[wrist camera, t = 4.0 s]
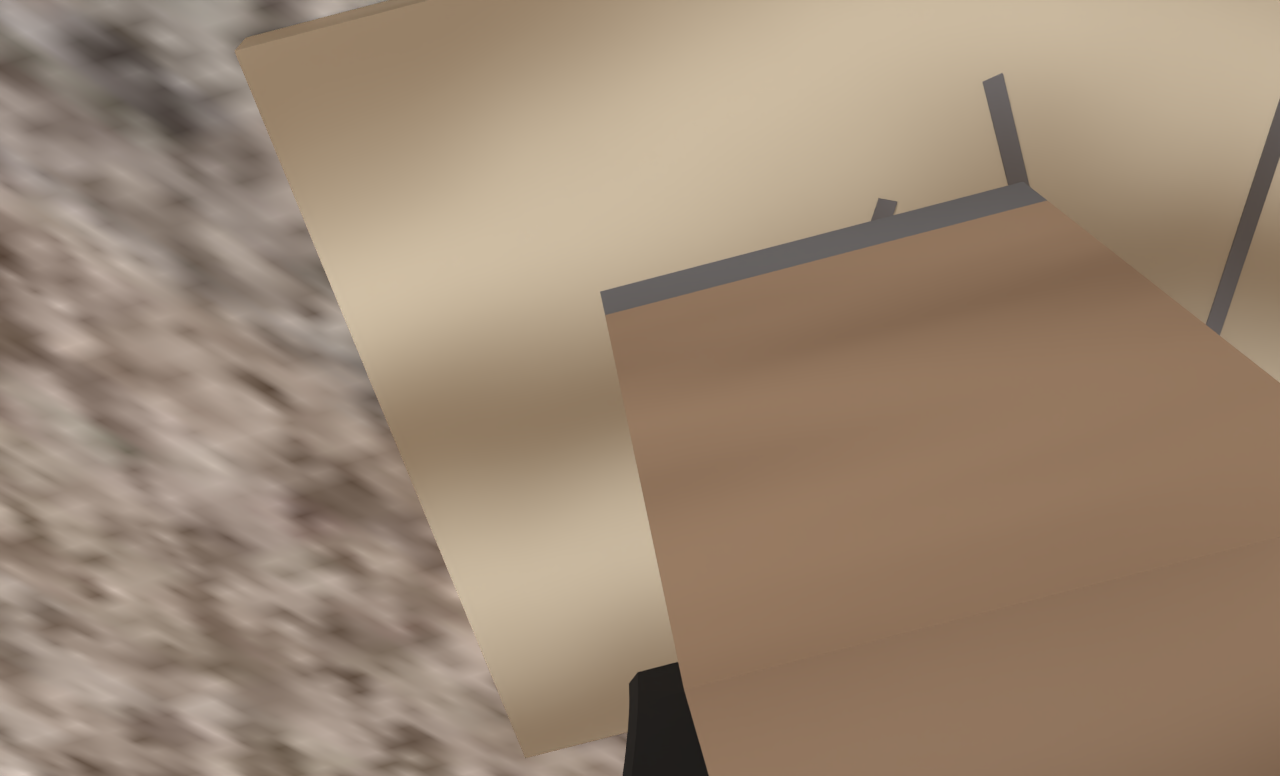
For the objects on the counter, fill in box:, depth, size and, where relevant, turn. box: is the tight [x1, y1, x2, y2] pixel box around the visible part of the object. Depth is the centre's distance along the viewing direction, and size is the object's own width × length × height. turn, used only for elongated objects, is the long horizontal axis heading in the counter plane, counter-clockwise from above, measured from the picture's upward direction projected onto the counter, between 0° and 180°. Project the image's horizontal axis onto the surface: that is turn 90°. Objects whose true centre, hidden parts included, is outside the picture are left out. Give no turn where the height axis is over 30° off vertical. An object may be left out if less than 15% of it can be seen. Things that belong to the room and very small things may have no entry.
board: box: [235, 0, 1280, 758], centre depth 18 cm, size 14×24×1 cm, turn 103°
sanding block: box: [600, 182, 1280, 776], centre depth 10 cm, size 8×4×5 cm, turn 13°
